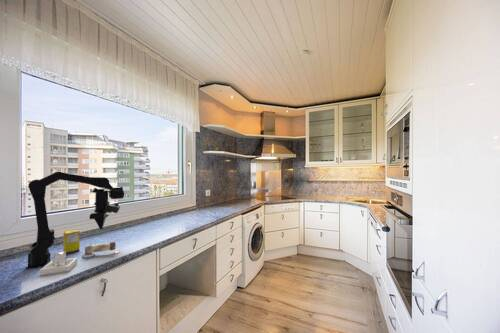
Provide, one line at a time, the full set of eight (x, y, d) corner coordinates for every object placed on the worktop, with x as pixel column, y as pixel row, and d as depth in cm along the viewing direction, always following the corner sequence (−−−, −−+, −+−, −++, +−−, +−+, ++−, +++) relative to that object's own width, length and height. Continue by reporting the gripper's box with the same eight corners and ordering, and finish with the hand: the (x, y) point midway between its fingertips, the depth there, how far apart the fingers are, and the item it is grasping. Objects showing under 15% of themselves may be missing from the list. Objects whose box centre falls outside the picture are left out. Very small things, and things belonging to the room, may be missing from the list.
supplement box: (76, 248, 120) (77, 229, 120) (79, 251, 116) (79, 230, 116) (62, 251, 115) (63, 231, 116) (65, 254, 111) (65, 233, 112)
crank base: (80, 258, 105) (80, 256, 105) (84, 255, 110) (84, 253, 110) (118, 253, 111) (118, 252, 111) (119, 250, 116) (119, 248, 116)
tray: (39, 276, 88) (39, 269, 88) (51, 266, 97) (51, 261, 97) (68, 271, 91) (68, 265, 91) (77, 263, 100) (77, 257, 100)
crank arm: (83, 255, 107) (84, 246, 107) (86, 252, 110) (86, 244, 110) (114, 251, 112) (114, 243, 112) (115, 249, 114) (116, 241, 115)
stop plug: (51, 270, 91) (52, 255, 92) (56, 266, 95) (56, 252, 95) (63, 269, 93) (63, 254, 93) (67, 265, 97) (67, 250, 97)
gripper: (115, 201, 111) (114, 231, 110) (121, 197, 128) (121, 223, 128) (89, 202, 107) (89, 234, 106) (99, 198, 124) (99, 225, 124)
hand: (101, 228), depth 116 cm, fingers closed
